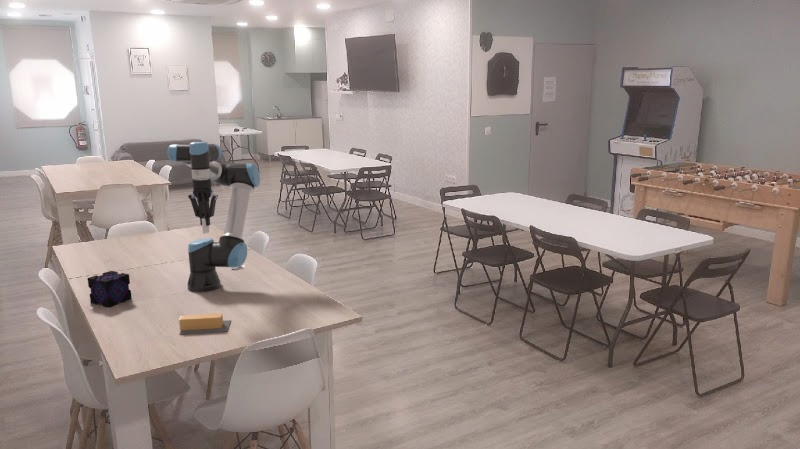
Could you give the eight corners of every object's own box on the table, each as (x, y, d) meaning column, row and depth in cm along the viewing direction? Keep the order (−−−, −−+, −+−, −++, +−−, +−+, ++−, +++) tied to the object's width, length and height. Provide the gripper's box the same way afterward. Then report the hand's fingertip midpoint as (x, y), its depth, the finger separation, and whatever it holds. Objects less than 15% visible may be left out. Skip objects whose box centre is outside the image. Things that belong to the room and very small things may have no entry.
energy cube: (114, 295, 279) (111, 270, 276) (131, 299, 274) (128, 274, 271) (90, 303, 269) (87, 278, 266) (108, 307, 263) (105, 281, 261)
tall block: (178, 319, 236) (220, 317, 238) (181, 315, 240) (222, 313, 242) (179, 330, 237) (221, 327, 239) (182, 326, 241) (223, 323, 243)
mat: (179, 334, 234) (179, 333, 234) (185, 323, 244) (185, 322, 244) (227, 331, 236) (227, 330, 236) (230, 321, 247) (230, 320, 247)
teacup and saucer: (234, 271, 315) (234, 263, 314) (225, 268, 320) (224, 261, 319) (248, 267, 322) (247, 260, 321) (238, 264, 327) (238, 257, 326)
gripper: (182, 179, 253) (187, 234, 258) (211, 180, 250) (215, 235, 255) (192, 177, 260) (196, 230, 265) (220, 177, 257) (224, 231, 262)
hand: (206, 232), depth 260 cm, fingers closed
